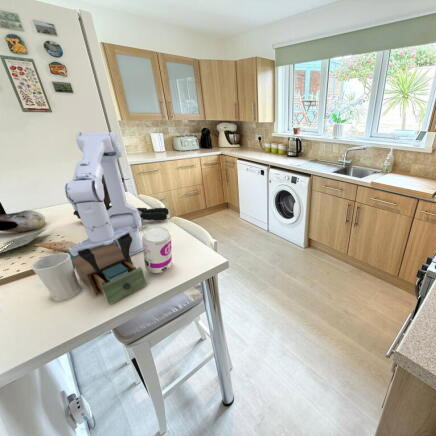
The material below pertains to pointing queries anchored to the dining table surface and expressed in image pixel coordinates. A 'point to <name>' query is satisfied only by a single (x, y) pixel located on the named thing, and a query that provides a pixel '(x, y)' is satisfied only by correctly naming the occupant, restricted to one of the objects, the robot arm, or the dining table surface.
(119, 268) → the container
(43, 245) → the seashell
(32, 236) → the silver ridged dish
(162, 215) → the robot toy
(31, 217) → the decorative stone
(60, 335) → the dining table surface
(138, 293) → the dining table surface
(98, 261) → the cabinet
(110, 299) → the drawer
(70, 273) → the cup
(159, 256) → the supplement can
